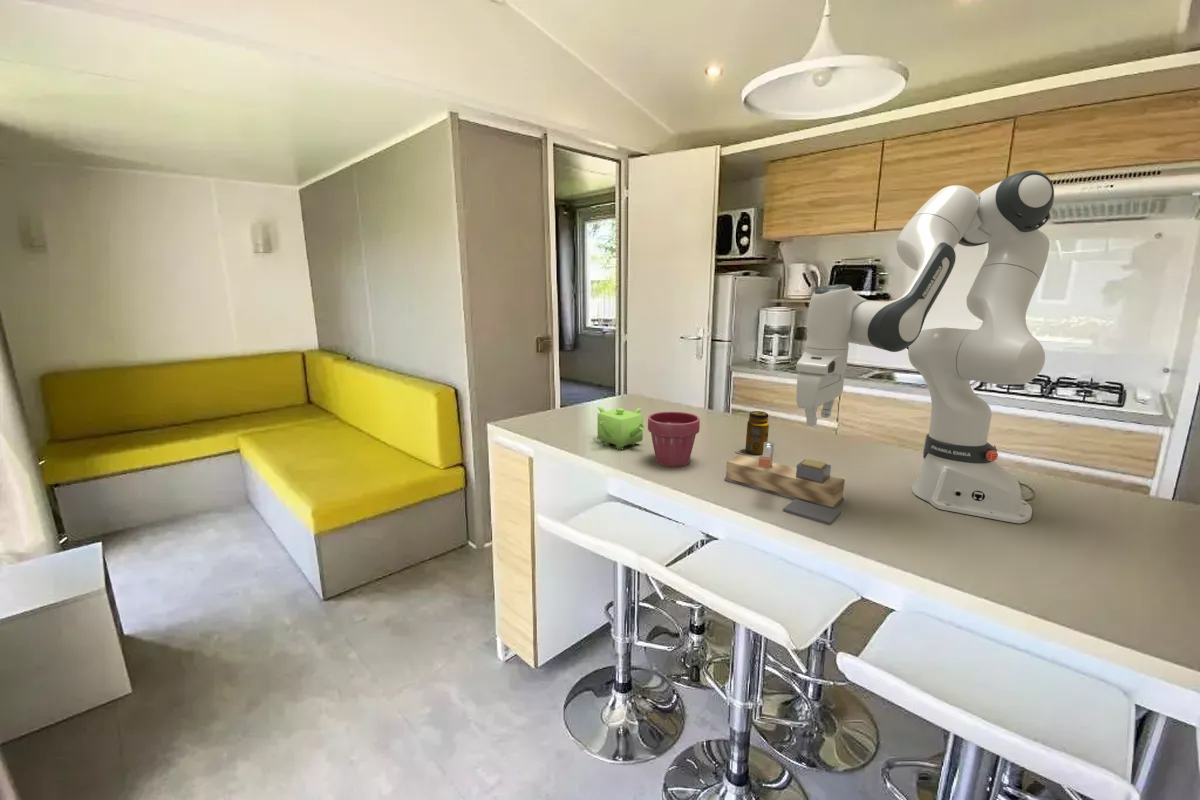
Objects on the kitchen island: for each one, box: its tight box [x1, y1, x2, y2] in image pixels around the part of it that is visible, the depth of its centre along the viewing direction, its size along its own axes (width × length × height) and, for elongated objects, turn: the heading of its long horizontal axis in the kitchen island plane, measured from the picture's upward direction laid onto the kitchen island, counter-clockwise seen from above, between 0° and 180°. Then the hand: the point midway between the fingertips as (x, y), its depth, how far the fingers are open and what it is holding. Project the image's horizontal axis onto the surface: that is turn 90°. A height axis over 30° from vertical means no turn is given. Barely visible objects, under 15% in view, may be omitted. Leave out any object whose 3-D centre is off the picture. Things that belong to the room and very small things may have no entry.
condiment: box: [735, 410, 770, 459], centre depth 151 cm, size 7×8×12 cm
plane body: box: [724, 454, 845, 510], centre depth 125 cm, size 26×7×5 cm, turn 49°
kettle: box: [597, 406, 645, 450], centre depth 159 cm, size 15×14×11 cm
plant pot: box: [647, 411, 701, 467], centre depth 143 cm, size 14×14×13 cm
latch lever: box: [758, 441, 775, 468], centre depth 121 cm, size 14×2×6 cm, turn 158°
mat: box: [782, 499, 842, 526], centre depth 113 cm, size 10×7×1 cm
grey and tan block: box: [796, 458, 832, 484], centre depth 119 cm, size 6×5×4 cm
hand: (818, 421), depth 117 cm, fingers open, 8 cm apart
